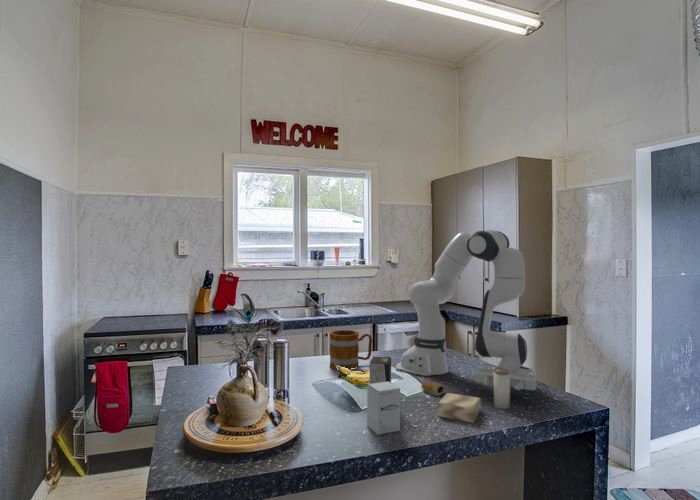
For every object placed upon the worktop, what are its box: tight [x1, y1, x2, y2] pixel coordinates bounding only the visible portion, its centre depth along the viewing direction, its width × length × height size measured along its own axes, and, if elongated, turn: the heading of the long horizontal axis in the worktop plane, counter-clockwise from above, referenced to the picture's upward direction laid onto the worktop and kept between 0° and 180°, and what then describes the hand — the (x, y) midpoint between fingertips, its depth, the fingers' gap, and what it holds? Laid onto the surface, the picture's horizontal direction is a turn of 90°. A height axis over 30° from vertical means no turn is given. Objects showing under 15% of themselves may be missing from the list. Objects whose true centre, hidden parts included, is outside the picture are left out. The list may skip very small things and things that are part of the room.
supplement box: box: [366, 382, 401, 436], centre depth 125 cm, size 7×7×13 cm
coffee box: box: [369, 356, 392, 384], centre depth 141 cm, size 9×6×16 cm
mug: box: [329, 329, 373, 371], centre depth 191 cm, size 20×14×15 cm
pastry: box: [420, 381, 447, 397], centre depth 157 cm, size 9×7×4 cm
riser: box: [437, 392, 482, 424], centre depth 137 cm, size 11×11×4 cm
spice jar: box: [493, 367, 511, 410], centre depth 143 cm, size 5×5×12 cm
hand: (501, 385), depth 142 cm, fingers open, 8 cm apart
